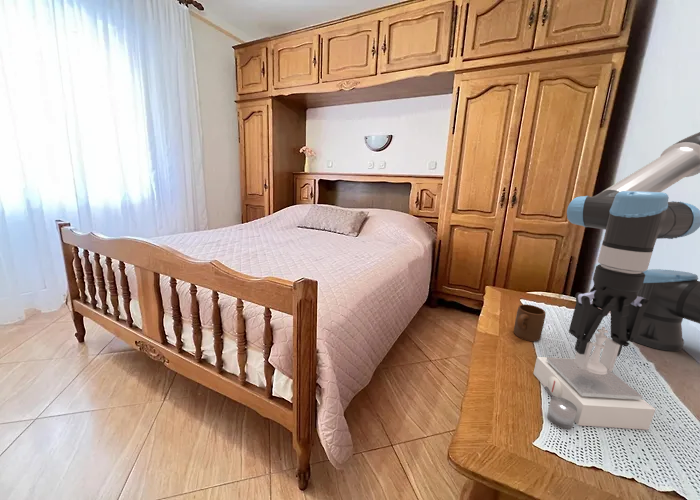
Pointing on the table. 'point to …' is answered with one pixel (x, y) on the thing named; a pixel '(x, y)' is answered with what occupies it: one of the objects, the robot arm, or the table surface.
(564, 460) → the table surface
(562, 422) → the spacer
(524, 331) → the mug
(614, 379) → the textured square plate
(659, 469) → the table surface
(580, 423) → the scale
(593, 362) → the chess piece
